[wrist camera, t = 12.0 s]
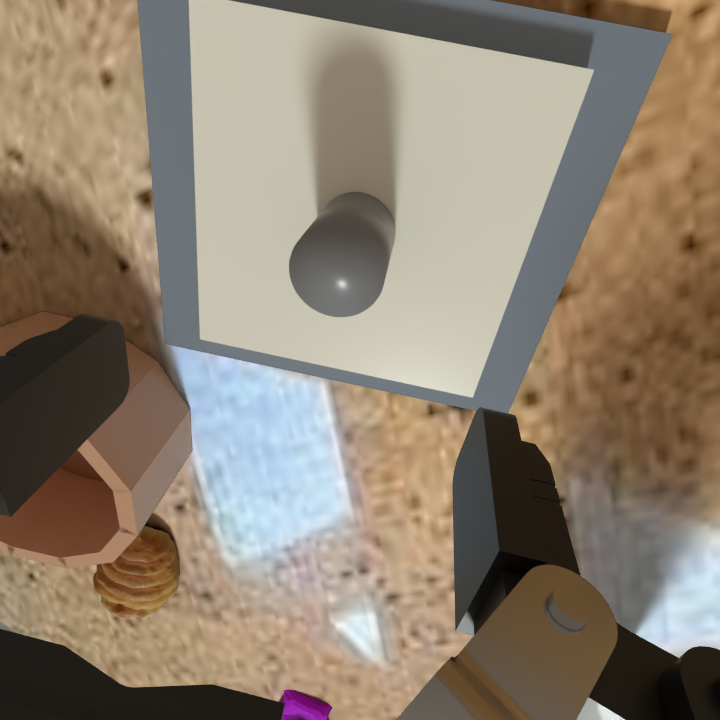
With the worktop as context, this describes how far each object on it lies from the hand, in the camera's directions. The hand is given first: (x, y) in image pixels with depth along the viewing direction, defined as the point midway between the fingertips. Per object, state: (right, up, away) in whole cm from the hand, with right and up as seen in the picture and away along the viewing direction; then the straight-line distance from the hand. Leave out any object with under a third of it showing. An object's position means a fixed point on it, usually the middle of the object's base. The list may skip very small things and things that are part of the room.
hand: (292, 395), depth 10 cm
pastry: (-17, -16, +30) cm, 38 cm away
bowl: (-17, -2, +21) cm, 27 cm away
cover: (+2, +7, +11) cm, 13 cm away
